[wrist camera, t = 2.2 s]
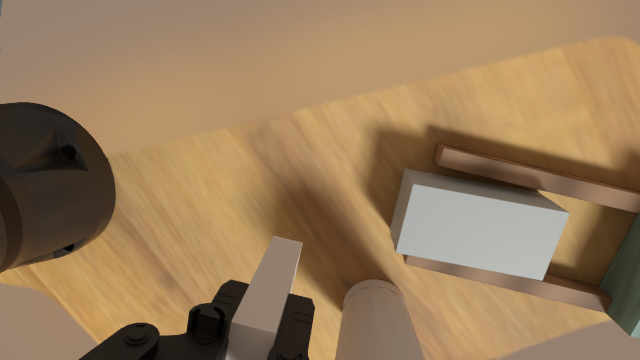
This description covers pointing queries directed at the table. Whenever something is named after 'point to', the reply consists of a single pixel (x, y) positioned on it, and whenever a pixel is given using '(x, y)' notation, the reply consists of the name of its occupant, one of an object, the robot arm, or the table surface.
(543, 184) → the brown green u-shaped frame
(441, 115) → the table surface
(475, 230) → the block
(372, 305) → the cup
